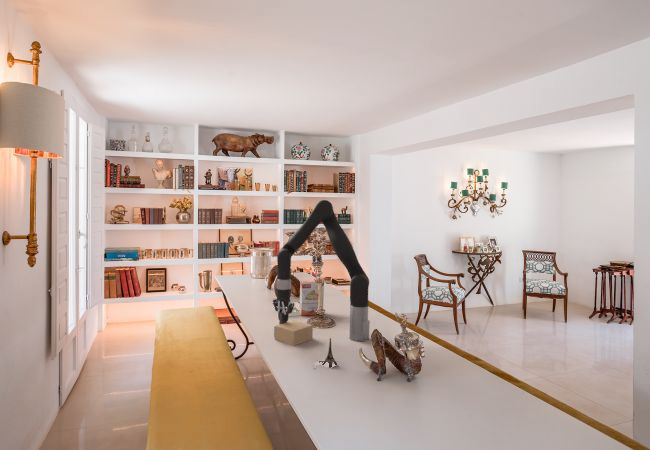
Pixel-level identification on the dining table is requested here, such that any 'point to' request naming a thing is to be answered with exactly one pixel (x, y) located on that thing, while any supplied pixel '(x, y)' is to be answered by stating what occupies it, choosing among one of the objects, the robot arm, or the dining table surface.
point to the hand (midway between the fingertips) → (283, 320)
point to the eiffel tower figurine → (329, 356)
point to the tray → (280, 321)
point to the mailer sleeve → (293, 332)
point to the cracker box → (309, 297)
